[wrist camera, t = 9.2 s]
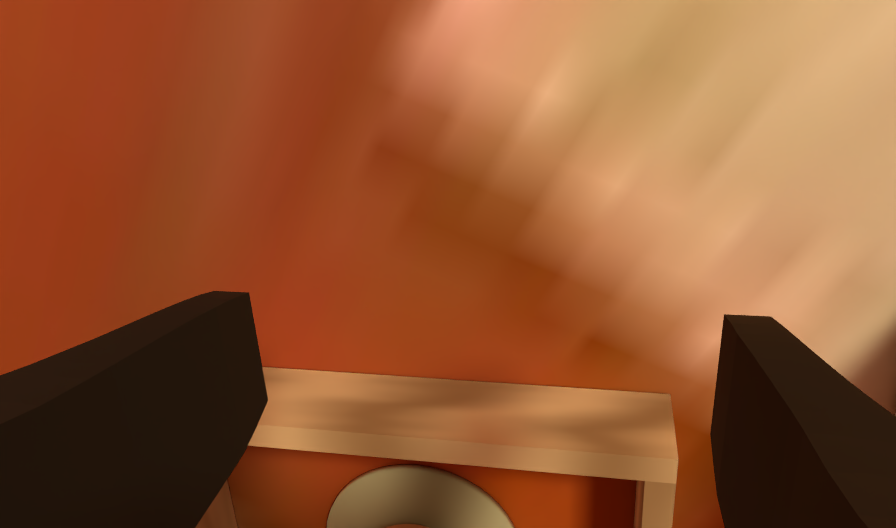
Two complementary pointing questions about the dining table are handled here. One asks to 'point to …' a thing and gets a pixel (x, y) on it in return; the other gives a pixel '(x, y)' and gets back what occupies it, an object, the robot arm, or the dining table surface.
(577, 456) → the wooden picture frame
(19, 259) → the dining table surface
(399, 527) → the ball
